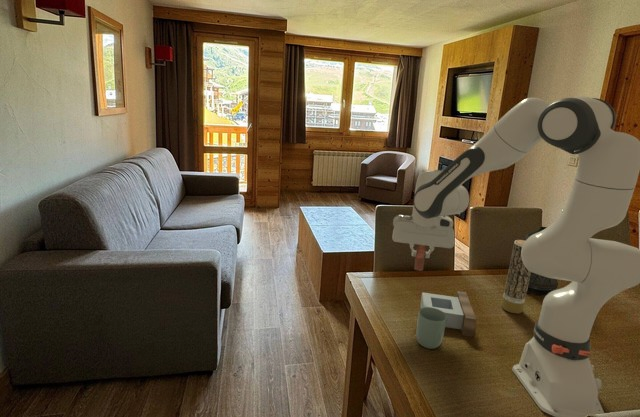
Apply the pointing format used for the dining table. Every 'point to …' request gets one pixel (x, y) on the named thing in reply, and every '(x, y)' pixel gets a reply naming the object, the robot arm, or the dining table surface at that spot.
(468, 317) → the walnut wall
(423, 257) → the sausage
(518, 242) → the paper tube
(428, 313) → the cup
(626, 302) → the dining table surface
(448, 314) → the holed block
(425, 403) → the dining table surface
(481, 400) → the dining table surface
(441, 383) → the dining table surface
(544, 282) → the beer stein
